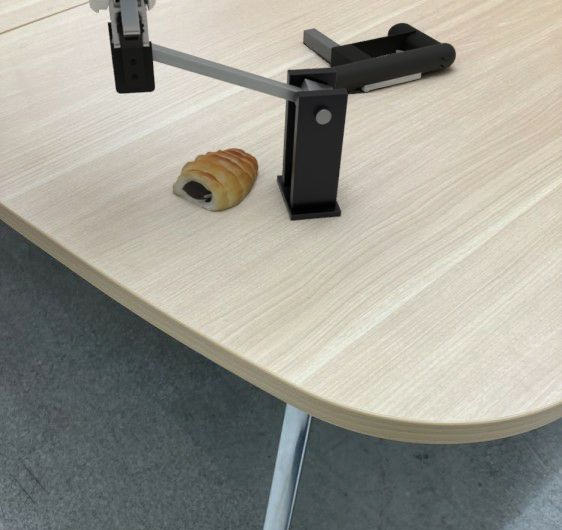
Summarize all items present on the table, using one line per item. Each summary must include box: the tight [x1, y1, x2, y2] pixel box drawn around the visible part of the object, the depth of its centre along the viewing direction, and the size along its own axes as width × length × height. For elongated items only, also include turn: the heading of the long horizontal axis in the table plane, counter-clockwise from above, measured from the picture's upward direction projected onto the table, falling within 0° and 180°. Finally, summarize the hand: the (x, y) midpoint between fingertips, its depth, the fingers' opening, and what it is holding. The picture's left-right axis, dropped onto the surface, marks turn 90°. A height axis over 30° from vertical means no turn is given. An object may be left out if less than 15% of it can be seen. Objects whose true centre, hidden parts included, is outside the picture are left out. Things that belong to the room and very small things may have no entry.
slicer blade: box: [112, 35, 333, 104], centre depth 67 cm, size 20×3×3 cm, turn 102°
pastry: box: [172, 147, 259, 212], centre depth 79 cm, size 9×7×4 cm
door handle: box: [302, 22, 457, 93], centre depth 99 cm, size 3×20×16 cm
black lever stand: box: [276, 67, 349, 221], centre depth 74 cm, size 5×7×13 cm
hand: (133, 78), depth 66 cm, fingers closed on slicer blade, 3 cm apart
